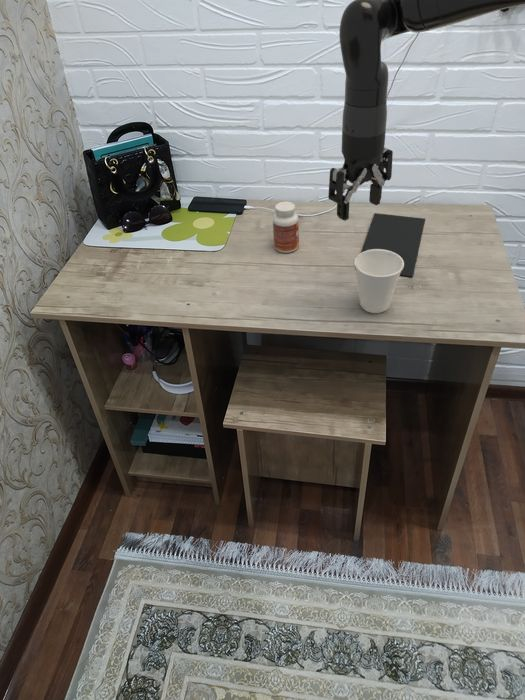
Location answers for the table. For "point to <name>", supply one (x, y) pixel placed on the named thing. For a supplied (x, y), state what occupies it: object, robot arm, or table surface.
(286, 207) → the pill bottle
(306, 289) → the table surface
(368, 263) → the cup
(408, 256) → the mat
